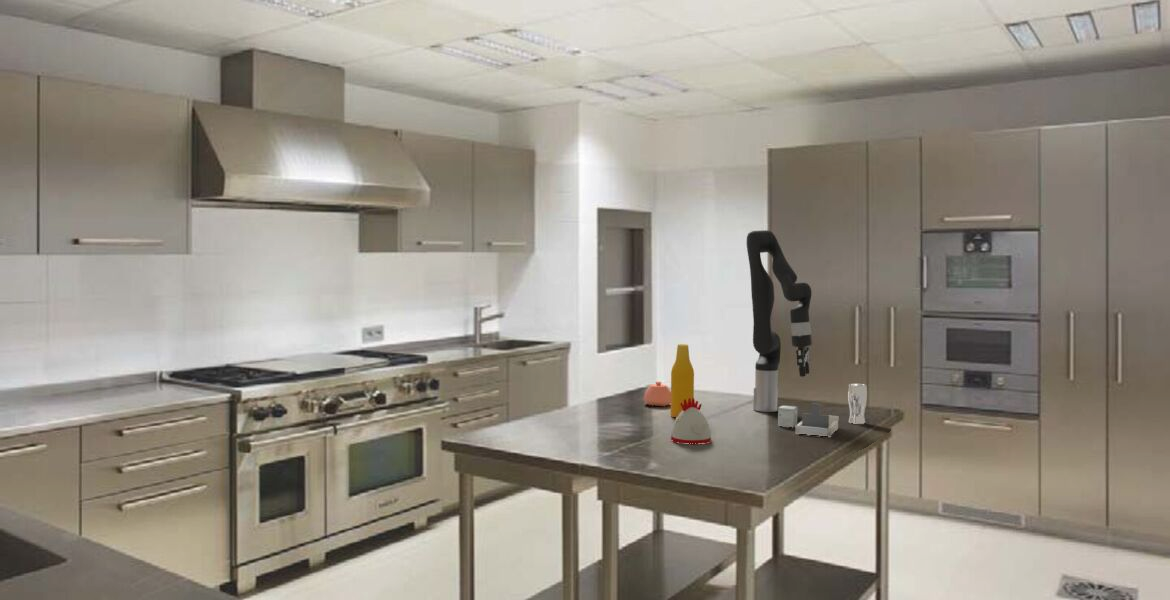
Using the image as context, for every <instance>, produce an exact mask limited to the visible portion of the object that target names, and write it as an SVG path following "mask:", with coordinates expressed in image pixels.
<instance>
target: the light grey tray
mask: <svg viewBox="0 0 1170 600" xmlns="http://www.w3.org/2000/svg"><path fill="white" fill-rule="evenodd" d="M828 415H829V414H828ZM839 418H840V417H839V416H838V415H829V427H828V428H819V427H808V426H802V420H800V422H797V425H796V426H795V427H794V428H795V430H794V431H795V432H794V433H795V435H799V434H807V435H806V436H810V435H819V436H818V437H820V436H828V437H827V438H831V437H832V436H833V435H834V434H835V433H834V432H835V431H836V432H837V431H838V430H839ZM833 433H834V434H833ZM832 434H833V435H832ZM831 435H832V436H831Z"/></svg>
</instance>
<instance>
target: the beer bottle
mask: <svg viewBox="0 0 1170 600" xmlns="http://www.w3.org/2000/svg"><path fill="white" fill-rule="evenodd" d="M694 390H695V371H694V368H693V365H692V363H691V360H690V352H689V345H688V344H686V343H685V344H677V348H676V356H675V361H674V363H673V365H672V367H671V372H670V392H671V403H670V416H671V418H673V417H677V416H678V415H679V414H680V413H681V412H682V411H683V409H682V407H681V404H680V403H682V404H683V405H684V399H686V402H687V404H688V399H689V398H690V399H691V402H692V398H694V397H695V395H694V393H695V391H694ZM694 399H695V398H694Z"/></svg>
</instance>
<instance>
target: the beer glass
mask: <svg viewBox="0 0 1170 600" xmlns="http://www.w3.org/2000/svg"><path fill="white" fill-rule="evenodd" d="M867 388H868V387H867V384H865V383H857V382H856V383H852V382H851V383H848V389H847V390H848V391H847V400H848V407H849V417H848V423H849V424H851V423H853V425H865V424H866V420H865V410H866V406H867V401H868V400H867V399H868V390H867ZM864 423H865V424H864Z"/></svg>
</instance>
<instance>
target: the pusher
mask: <svg viewBox="0 0 1170 600" xmlns="http://www.w3.org/2000/svg"><path fill="white" fill-rule="evenodd" d="M810 410H811V412H810V413H807V412H806V413H805V412H803V413H802V414H801V415H802V416H801V417H802V419H801V421H802V426H808V427H819V428H828V427H829V414H821V403H816V402H811V407H810Z"/></svg>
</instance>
